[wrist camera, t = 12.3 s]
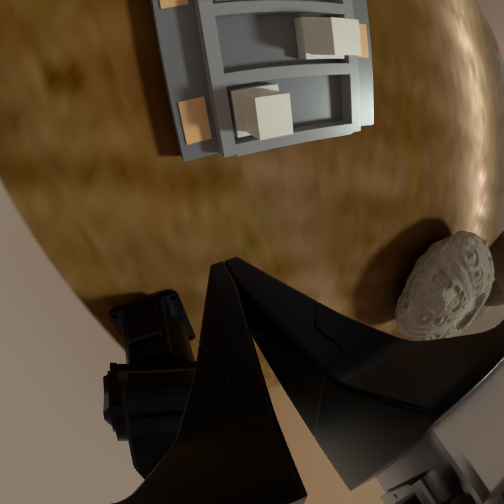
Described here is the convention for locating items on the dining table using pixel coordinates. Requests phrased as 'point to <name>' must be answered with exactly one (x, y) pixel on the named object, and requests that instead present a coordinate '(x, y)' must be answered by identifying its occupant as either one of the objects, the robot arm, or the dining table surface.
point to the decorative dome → (497, 274)
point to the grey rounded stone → (446, 288)
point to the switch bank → (258, 71)
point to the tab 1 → (260, 111)
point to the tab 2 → (327, 37)
